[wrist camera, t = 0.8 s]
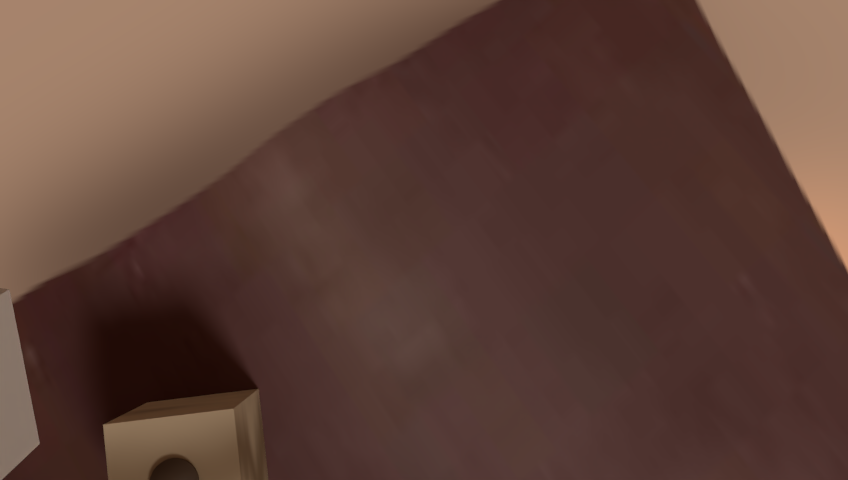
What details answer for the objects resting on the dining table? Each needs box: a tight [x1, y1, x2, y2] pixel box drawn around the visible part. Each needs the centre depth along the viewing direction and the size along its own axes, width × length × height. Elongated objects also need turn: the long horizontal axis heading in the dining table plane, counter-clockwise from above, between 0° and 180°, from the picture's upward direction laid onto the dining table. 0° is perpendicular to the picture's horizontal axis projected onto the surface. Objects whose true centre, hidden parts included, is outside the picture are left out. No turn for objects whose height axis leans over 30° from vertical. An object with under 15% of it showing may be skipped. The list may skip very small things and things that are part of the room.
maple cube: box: [103, 389, 268, 480], centre depth 37 cm, size 6×6×6 cm
